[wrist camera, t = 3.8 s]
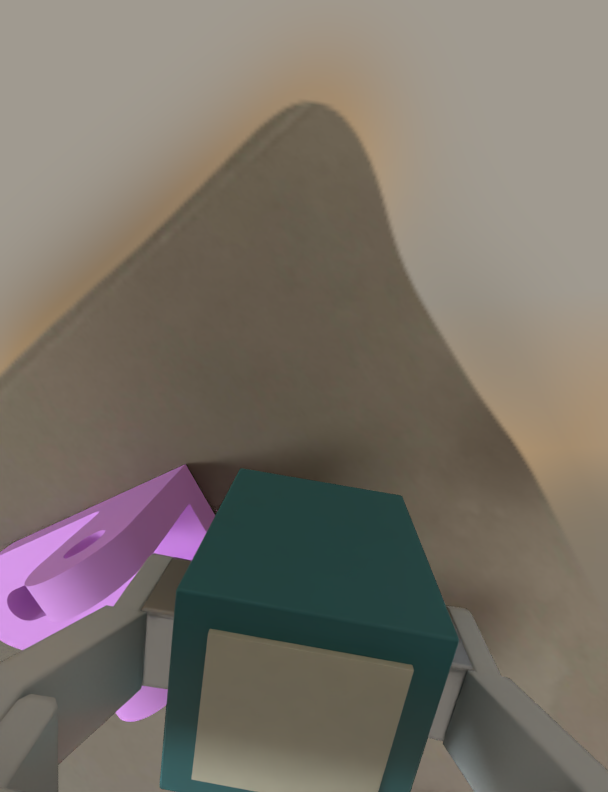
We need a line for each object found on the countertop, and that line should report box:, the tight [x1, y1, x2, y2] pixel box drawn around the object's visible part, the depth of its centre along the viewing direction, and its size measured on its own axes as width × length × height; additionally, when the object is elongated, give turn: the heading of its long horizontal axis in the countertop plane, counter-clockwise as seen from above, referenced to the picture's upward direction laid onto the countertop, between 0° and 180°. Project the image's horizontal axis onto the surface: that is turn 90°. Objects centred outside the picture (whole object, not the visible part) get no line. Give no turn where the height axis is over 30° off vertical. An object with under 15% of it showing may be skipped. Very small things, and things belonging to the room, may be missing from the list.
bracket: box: [0, 464, 215, 722], centre depth 15 cm, size 13×6×7 cm, turn 116°
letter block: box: [160, 468, 459, 792], centre depth 8 cm, size 4×4×4 cm
